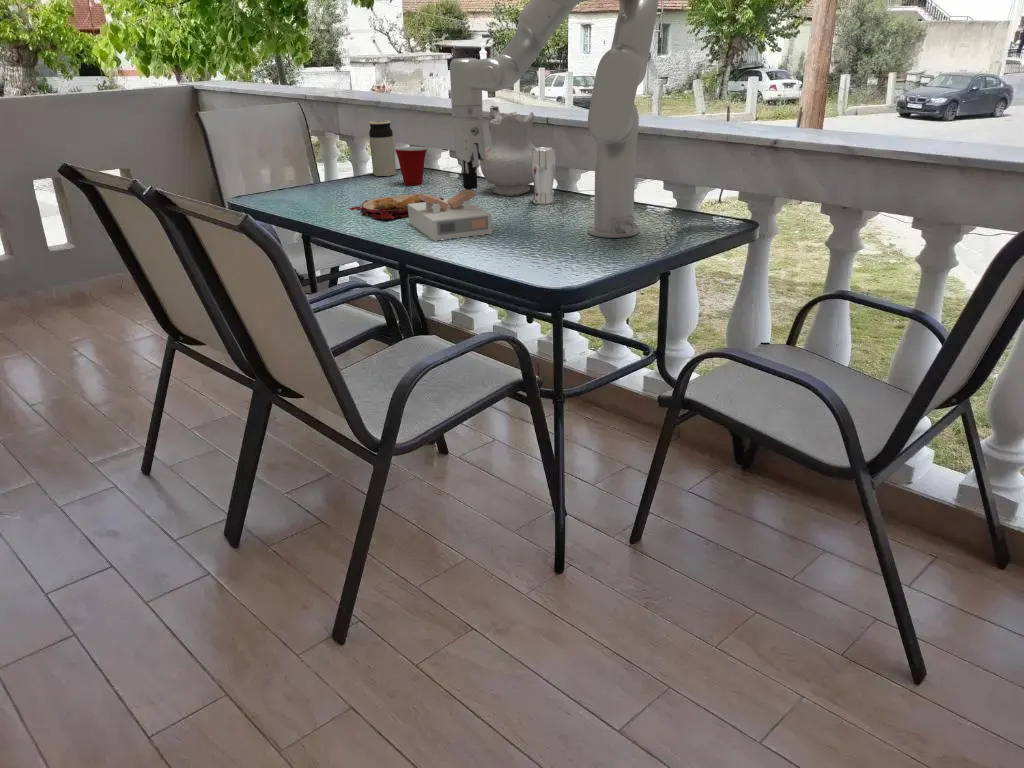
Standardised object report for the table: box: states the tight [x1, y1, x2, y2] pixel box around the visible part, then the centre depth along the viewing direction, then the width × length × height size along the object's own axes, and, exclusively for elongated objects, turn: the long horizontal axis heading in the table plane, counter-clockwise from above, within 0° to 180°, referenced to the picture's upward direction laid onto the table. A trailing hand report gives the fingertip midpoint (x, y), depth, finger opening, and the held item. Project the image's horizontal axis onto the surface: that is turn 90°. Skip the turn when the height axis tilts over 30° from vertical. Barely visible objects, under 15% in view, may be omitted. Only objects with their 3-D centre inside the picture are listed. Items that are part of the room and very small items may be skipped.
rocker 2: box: [446, 188, 477, 209], centre depth 201 cm, size 5×7×2 cm
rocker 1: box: [418, 192, 449, 210], centre depth 198 cm, size 5×7×2 cm
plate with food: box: [348, 193, 445, 220], centre depth 227 cm, size 25×26×4 cm
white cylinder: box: [531, 146, 556, 205], centre depth 226 cm, size 7×7×15 cm
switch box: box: [407, 199, 493, 241], centre depth 201 cm, size 22×15×7 cm
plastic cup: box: [394, 146, 428, 187], centre depth 258 cm, size 11×11×12 cm
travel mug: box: [368, 120, 397, 177], centre depth 274 cm, size 8×8×18 cm
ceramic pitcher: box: [479, 105, 537, 197], centre depth 241 cm, size 22×20×25 cm
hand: (470, 188), depth 201 cm, fingers closed
